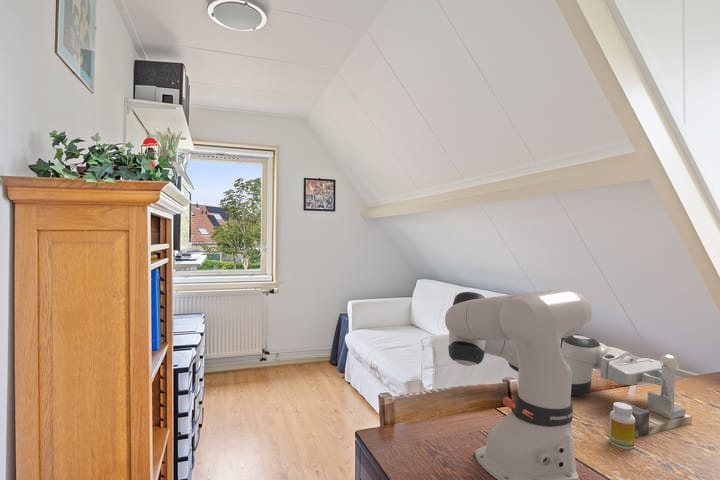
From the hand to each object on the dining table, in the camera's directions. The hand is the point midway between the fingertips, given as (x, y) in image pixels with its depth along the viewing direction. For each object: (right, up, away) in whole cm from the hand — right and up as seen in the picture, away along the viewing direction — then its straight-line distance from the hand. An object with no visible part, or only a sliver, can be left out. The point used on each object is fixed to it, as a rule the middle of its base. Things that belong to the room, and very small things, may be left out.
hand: (668, 381), depth 111 cm
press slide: (0, -9, 0) cm, 9 cm away
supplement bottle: (-21, -11, -12) cm, 27 cm away
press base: (-6, -11, -2) cm, 13 cm away
